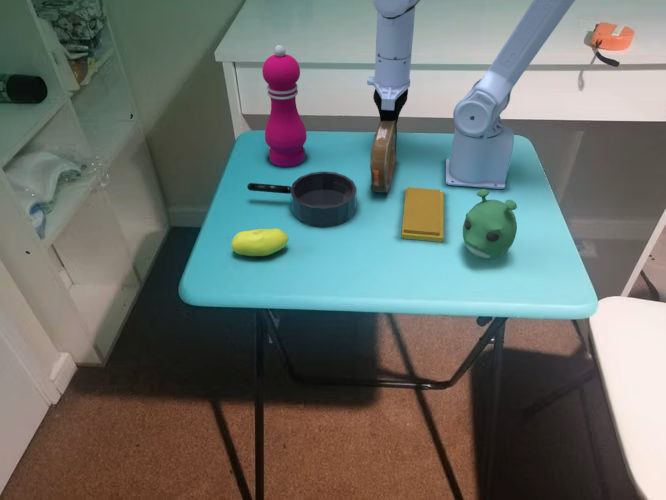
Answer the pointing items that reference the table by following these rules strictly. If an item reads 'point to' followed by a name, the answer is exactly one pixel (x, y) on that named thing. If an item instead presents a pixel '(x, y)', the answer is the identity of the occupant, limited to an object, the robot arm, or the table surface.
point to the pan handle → (269, 188)
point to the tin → (383, 156)
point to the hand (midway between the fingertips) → (388, 130)
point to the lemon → (259, 242)
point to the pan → (323, 199)
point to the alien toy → (490, 227)
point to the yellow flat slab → (423, 215)
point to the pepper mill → (283, 110)
